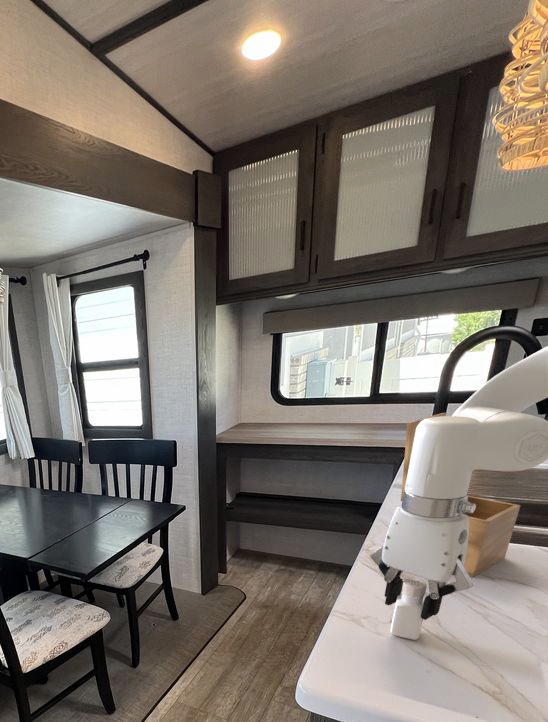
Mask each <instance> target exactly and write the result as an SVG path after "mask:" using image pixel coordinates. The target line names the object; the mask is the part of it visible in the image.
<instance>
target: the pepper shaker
mask: <svg viewBox="0 0 548 722" xmlns="http://www.w3.org/2000/svg"><path fill="white" fill-rule="evenodd" d="M427 587H428V583H427V582H426V581H423V580H421V579H418V578H405V579H403V584H402V589H401V595H398V596H397V599H396V602H395V603H394V604H395V605H394V609H393V616H392V619H391V625H390V630H389V631H390V634H391V635H392V636H395V637H400V638H404V639H409V640H412V641H413V640H414V641H415V640H416V641H417V640H419V638H420V635H421V630H422V626H423V621H424V619H422V618H421V613H422V608H423V604H424V599H425V597H426V592H427Z"/></svg>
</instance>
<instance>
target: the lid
mask: <svg viewBox="0 0 548 722" xmlns="http://www.w3.org/2000/svg"><path fill="white" fill-rule="evenodd" d="M439 416H447V412H441V413H438V414H434V415H430V416H427V417H423V418H420V419H415V420H411V421H408V422H407V428H406V438H405V447H404V448H405V450H404V458H403V459H404V460H403V469H402V470H403V471H402V482H401V494H400V502H402V500H403V495H404V490H405V484H406V479H407V474H408V468H409V463H410V458H411V453H412V447H413V442H414V437H415V432H416V428H417V426H418V425H419V423H420V422H422V421H423V420H425V419H428V418H431V417H439Z"/></svg>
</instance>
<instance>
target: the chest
mask: <svg viewBox="0 0 548 722" xmlns="http://www.w3.org/2000/svg"><path fill="white" fill-rule="evenodd" d="M467 496H468V502H470V503H472V504H476V508H475V511H474V512H473V513H468V512H466V513H462V514H465V515H467V516H468V518H469V535H468V546H467V553H466V559H465V564H464V567H465V569H466V571H467V573H468V574H469V576H470V578H475V577H476V576H477V575H479V574H481V573H482V572H484V571H486V570H488V569H489V568H491V567H492V566H494V565H495V564H497V563H499V562H500V561H502V560H504V559H505V558H506V556H507V552H508V549H509V546H510V542H511V539H512V536H513V533H514V529H515V525H516V522H517V519H518V515H519V512H520V509H521V504H516V503H511V502H506V501H501V500H500V501H499V500H495V499H490V498H489V499H488V498H484V497H478V496H473V495H468V494H467Z"/></svg>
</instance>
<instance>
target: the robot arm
mask: <svg viewBox="0 0 548 722" xmlns="http://www.w3.org/2000/svg"><path fill="white" fill-rule="evenodd" d="M547 398H548V345H547V346H545V347H543V348H541V349H540V350H538V351H536V352H534V353H532V354H530V355H529V356H527V357H525V358H523V359H521V360H519V361H518V362H515V363H514V364H512V365H510V366H509V367H507V368H505V369H503V370H502V371H500V372H499V373H497V374H496V375H494V376H493V377H492V378H490V379H489V380H488V381H486V382H485V383H484V384H483V385H482V386H480V387H479V388H478V389H477V390H475V392H474V393H472V395H470V396H469V398H468V399H467V400H465V401H464V402H463V403H462V404H461V405H460V406H459V407H458V408H457V409H456V410H455V411H454V413H452V415H446V416H439V417H431V418H428V419H425V420H423V421H422V422H420V423H419V425H418V426H417V428H416V432H415V437H414V442H413V447H412V453H411V458H410V463H409V468H408V474H407V479H406V484H405V490H404V495H403V500H402V501H401V504H400V505H399V506H397V507H396V509H395V511H394V513H393V515H392V517H391V520H390V522H389V525H388V528H387V531H386V535H385V538H384V542H383V545H382V546H380V547H379V548H378V549H376V550H375V551H373V552H372V553H371V554H370V556H369V557H370V559H372V561H373V562H374V563H375V565H376V566H378V569H379V571H380V573H381V574H382V576H383V581H384V582H385V583H386V585H385V590H384V597H385V602H384V605H386V606H392V605H393V604H396V599H397V596H398V595H401V593H402V592H401V589H402V584H403V581H404V579H403V578H401V577H402V575H403V573H404V572H405V573H408V574H411V575H414V576H417V577H420V578H423V579H426V580H427V582H428V583H427V584H428V592H429V594H428V595H425V596H424V598H423V599H424V604H423V608H422V613H421V618H422V619H423V621H426V620H428V619H430V618H431V617H433V616H436V615H438V614H439V612H440V609H441V605H442V601H443V597H446V596H448V595H451V594H453V593H456V592H461V591H462V592H463V591H465V590H469V589H470V588H472V587H473V586H474V584H475V583H474V581H473V579H472V577H470V576H469V574H468V573H467V571H466V569H465V567H464V564H465V559H466V553H467V546H468V535H469V518H468V516H467V515H465V514H462V513H466V512H468V513H473V512H474V511H475V508H476V504H472V503H470V502H468V496H469V495H468V491H469V488H470V484H471V479H472V475H473V472H474V471H477V470H478V471H492V472H493V471H494V472H495V471H496V472H522V471H526V470H530V469H533V468H535V467H537V466H539V465H541V464H542V463H544V462H546V461H547V460H548V420H546V419H544V418H542V417H540V416H537V415H533V414H528V413H523V411H525V410H526V409H527V408H528V409H529V407H531V406H533V405H534V404H536V403H538V402H541V401H543V400H545V399H547ZM467 495H468V496H467ZM451 576H454V579H455V580H456V581H455V582H454V581H453V582H450V583H448V581H450V579H451Z"/></svg>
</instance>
